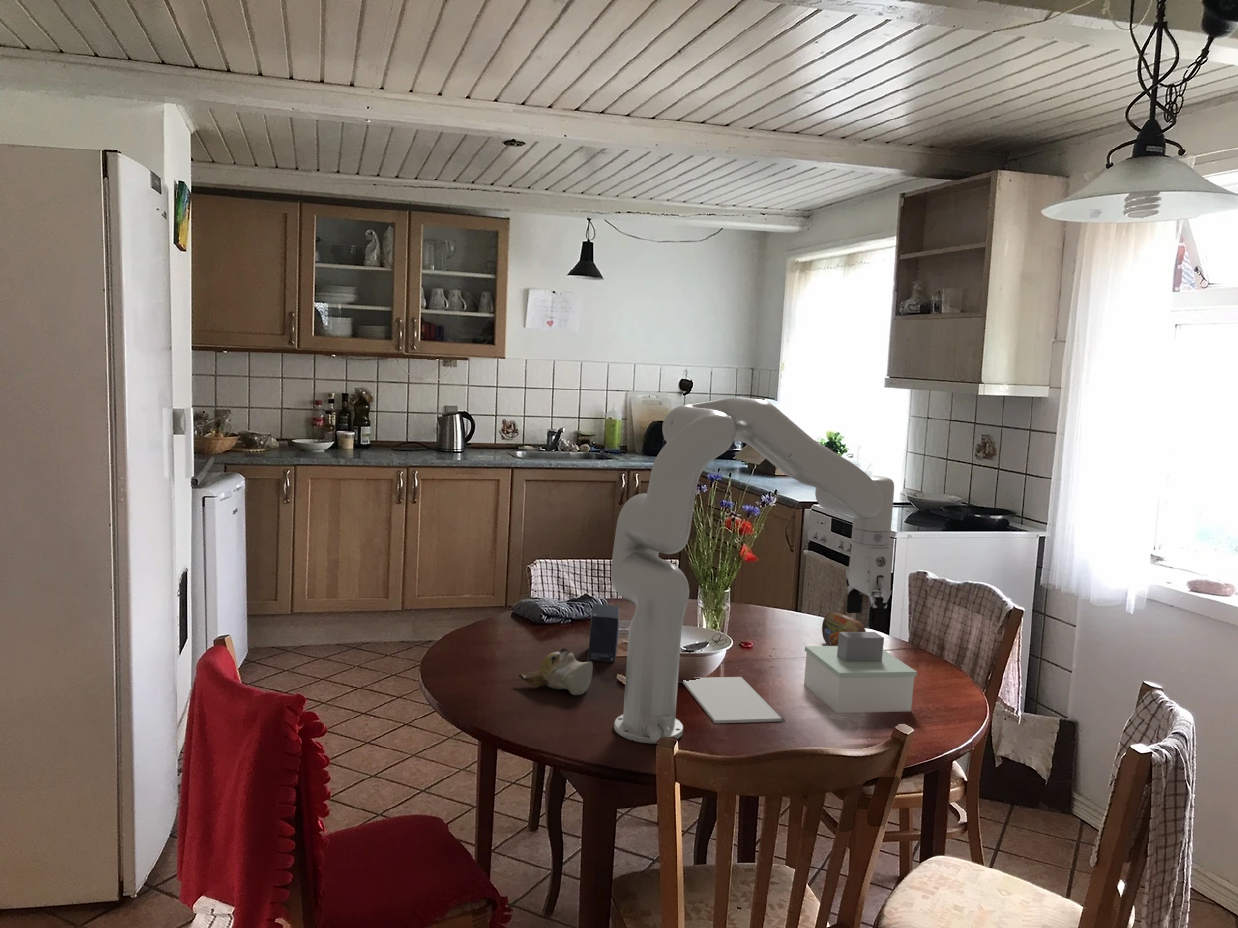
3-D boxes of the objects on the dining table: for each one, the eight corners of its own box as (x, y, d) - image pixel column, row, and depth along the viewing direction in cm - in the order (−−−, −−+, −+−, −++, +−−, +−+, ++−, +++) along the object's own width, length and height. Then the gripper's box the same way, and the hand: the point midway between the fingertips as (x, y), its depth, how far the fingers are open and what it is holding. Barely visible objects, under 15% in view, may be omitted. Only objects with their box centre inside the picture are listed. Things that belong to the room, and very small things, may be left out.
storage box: (910, 714, 186) (914, 676, 185) (836, 716, 183) (839, 677, 182) (872, 686, 202) (875, 650, 201) (803, 687, 198) (806, 651, 197)
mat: (827, 720, 181) (828, 717, 181) (714, 723, 176) (714, 720, 176) (782, 679, 203) (782, 676, 203) (681, 680, 198) (681, 678, 198)
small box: (616, 663, 207) (619, 617, 206) (587, 661, 207) (589, 615, 206) (617, 648, 217) (620, 604, 216) (589, 647, 217) (592, 603, 216)
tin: (819, 641, 233) (822, 608, 232) (830, 640, 235) (833, 607, 234) (855, 660, 220) (859, 625, 219) (866, 659, 221) (870, 625, 220)
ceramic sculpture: (575, 660, 180) (516, 648, 188) (575, 704, 181) (515, 690, 189) (607, 648, 189) (548, 637, 197) (606, 690, 190) (548, 677, 198)
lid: (915, 682, 185) (919, 647, 184) (838, 684, 182) (841, 648, 181) (876, 655, 201) (879, 623, 200) (804, 656, 198) (807, 623, 197)
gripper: (909, 546, 181) (902, 632, 183) (867, 528, 198) (861, 607, 200) (874, 546, 179) (867, 633, 181) (835, 528, 196) (829, 608, 198)
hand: (864, 619), depth 190 cm, fingers open, 9 cm apart
